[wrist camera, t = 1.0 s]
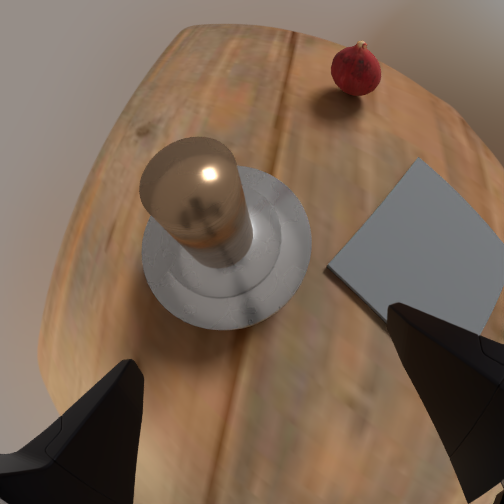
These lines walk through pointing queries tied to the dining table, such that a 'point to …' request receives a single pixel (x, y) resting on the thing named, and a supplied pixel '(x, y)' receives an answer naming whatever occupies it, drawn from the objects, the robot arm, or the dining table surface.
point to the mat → (425, 254)
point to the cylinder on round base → (220, 236)
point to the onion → (356, 70)
